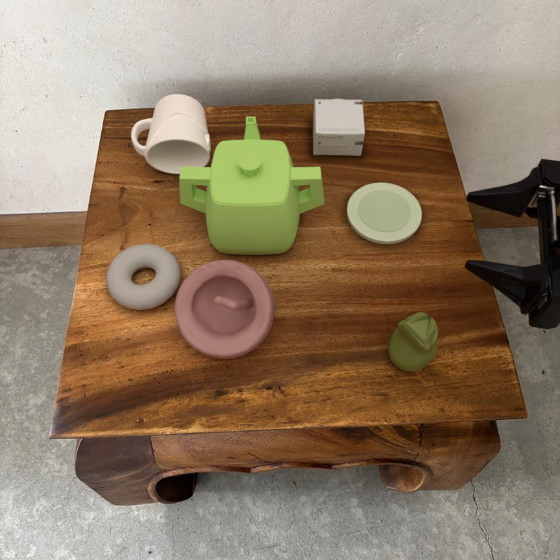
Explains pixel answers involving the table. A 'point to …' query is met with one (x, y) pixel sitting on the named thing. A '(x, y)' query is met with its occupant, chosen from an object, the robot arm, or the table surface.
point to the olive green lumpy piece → (414, 342)
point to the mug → (175, 135)
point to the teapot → (251, 194)
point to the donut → (147, 293)
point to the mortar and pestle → (224, 309)
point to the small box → (338, 127)
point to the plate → (384, 213)
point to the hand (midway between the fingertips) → (466, 228)
